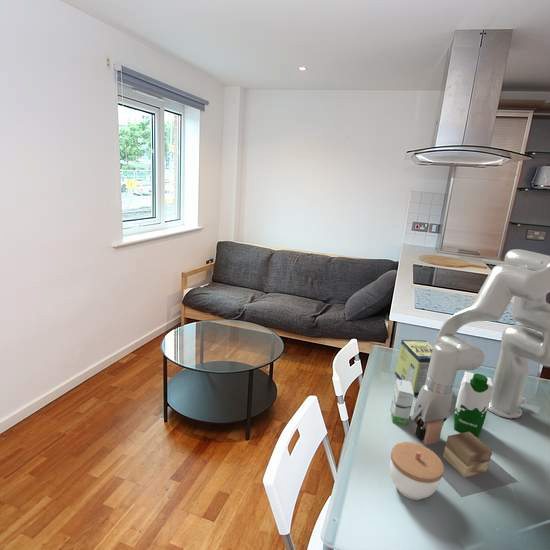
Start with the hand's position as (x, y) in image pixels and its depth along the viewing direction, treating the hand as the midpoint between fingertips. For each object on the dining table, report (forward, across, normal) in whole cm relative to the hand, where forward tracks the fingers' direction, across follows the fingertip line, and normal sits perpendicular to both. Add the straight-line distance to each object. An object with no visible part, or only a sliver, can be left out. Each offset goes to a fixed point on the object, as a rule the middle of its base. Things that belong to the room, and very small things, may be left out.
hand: (426, 435), depth 118 cm
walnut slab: (-3, -3, +12) cm, 13 cm away
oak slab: (+1, -3, +12) cm, 12 cm away
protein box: (+1, -18, -27) cm, 32 cm away
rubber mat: (+1, -3, +12) cm, 12 cm away
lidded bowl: (+1, +18, +15) cm, 23 cm away
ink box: (+1, +2, -11) cm, 11 cm away
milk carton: (+1, -17, -1) cm, 17 cm away
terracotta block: (+1, 0, 0) cm, 1 cm away
